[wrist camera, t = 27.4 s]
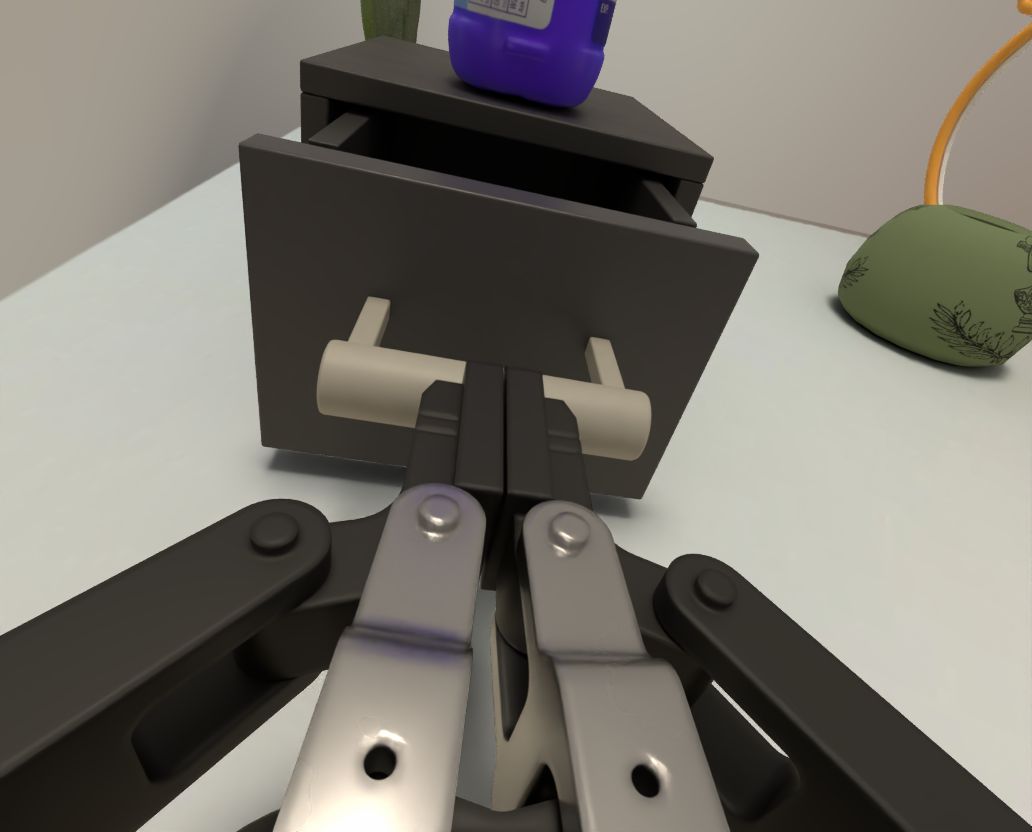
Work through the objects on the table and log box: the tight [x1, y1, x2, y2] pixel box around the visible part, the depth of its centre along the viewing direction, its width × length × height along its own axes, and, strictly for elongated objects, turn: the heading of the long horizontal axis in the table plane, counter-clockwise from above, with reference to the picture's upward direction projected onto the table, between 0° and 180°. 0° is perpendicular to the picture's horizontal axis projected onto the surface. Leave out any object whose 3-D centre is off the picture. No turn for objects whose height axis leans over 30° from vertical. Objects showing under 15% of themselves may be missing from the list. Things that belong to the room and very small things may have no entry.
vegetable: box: [361, 0, 421, 43], centre depth 40 cm, size 4×4×20 cm
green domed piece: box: [838, 205, 1032, 367], centre depth 41 cm, size 16×13×9 cm
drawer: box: [239, 105, 759, 499], centre depth 19 cm, size 18×13×9 cm
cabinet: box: [300, 36, 714, 217], centre depth 27 cm, size 15×14×11 cm
